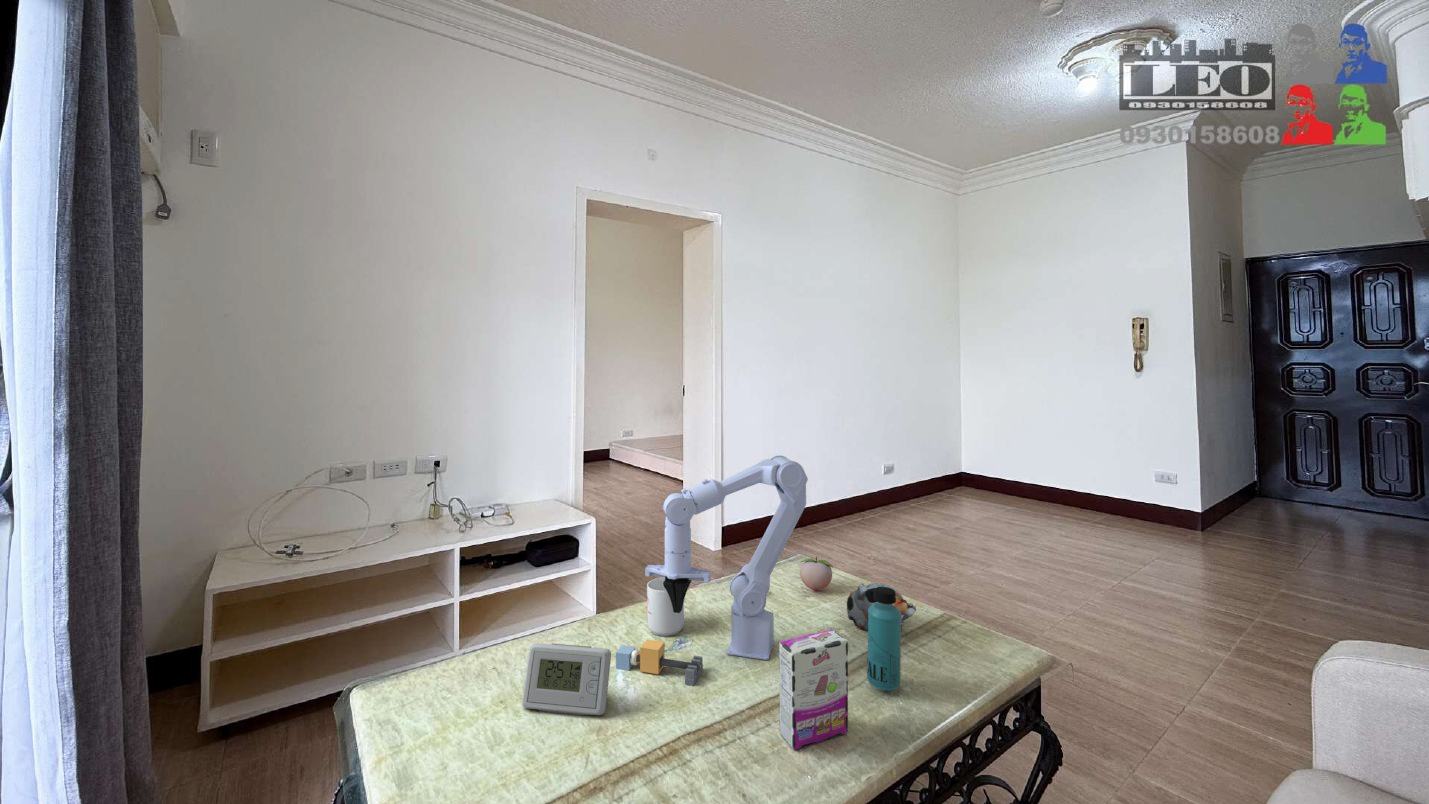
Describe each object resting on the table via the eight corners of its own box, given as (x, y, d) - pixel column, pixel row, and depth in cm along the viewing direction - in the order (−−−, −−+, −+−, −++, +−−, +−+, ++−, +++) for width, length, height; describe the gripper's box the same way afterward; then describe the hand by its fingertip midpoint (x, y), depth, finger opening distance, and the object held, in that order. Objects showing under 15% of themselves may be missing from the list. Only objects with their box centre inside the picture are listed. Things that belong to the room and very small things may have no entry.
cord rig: (702, 669, 112) (702, 653, 112) (693, 685, 106) (693, 669, 106) (625, 656, 117) (625, 641, 117) (612, 672, 111) (612, 656, 110)
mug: (689, 633, 127) (689, 587, 127) (653, 640, 124) (653, 593, 123) (672, 613, 138) (672, 570, 138) (639, 619, 135) (639, 575, 134)
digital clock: (516, 709, 98) (515, 653, 98) (547, 683, 107) (547, 631, 106) (592, 729, 93) (592, 669, 92) (619, 700, 101) (619, 645, 101)
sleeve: (664, 665, 113) (664, 642, 112) (658, 674, 109) (658, 650, 109) (646, 662, 114) (646, 639, 114) (640, 671, 110) (640, 647, 110)
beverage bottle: (900, 683, 107) (902, 584, 106) (901, 702, 101) (903, 597, 100) (867, 677, 109) (868, 580, 108) (865, 695, 103) (866, 593, 102)
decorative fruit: (799, 596, 149) (799, 560, 149) (799, 584, 157) (799, 551, 157) (833, 598, 148) (834, 562, 147) (832, 587, 156) (832, 553, 155)
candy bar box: (831, 717, 96) (832, 627, 95) (848, 734, 92) (850, 640, 91) (777, 733, 92) (777, 639, 91) (792, 752, 87) (793, 653, 86)
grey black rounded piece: (906, 616, 137) (923, 579, 129) (900, 654, 127) (918, 616, 120) (849, 592, 141) (862, 555, 134) (838, 627, 132) (852, 589, 124)
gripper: (639, 552, 114) (639, 614, 115) (704, 558, 111) (704, 623, 111) (652, 542, 121) (652, 601, 122) (713, 548, 117) (713, 609, 118)
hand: (677, 610), depth 117 cm, fingers closed
